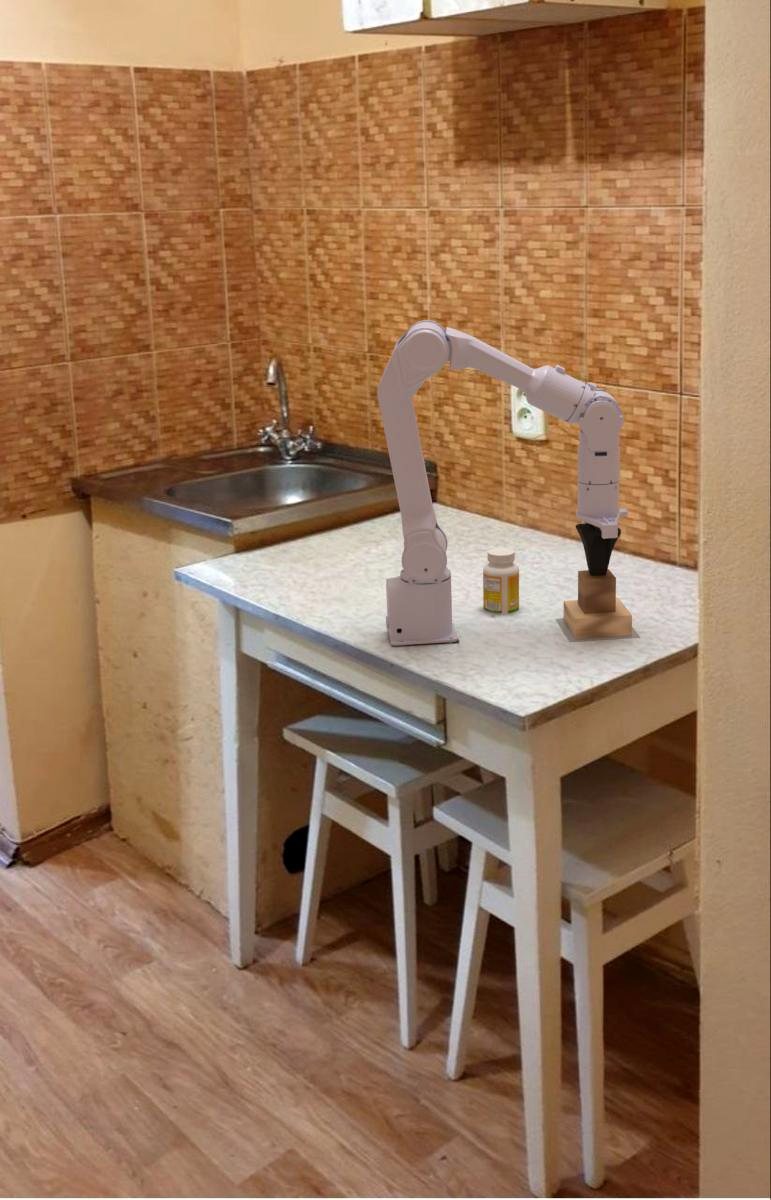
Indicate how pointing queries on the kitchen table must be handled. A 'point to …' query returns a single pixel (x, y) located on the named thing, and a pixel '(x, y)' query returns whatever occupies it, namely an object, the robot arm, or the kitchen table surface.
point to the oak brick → (597, 621)
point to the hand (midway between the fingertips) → (597, 574)
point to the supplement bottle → (501, 582)
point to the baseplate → (572, 639)
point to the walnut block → (596, 592)
